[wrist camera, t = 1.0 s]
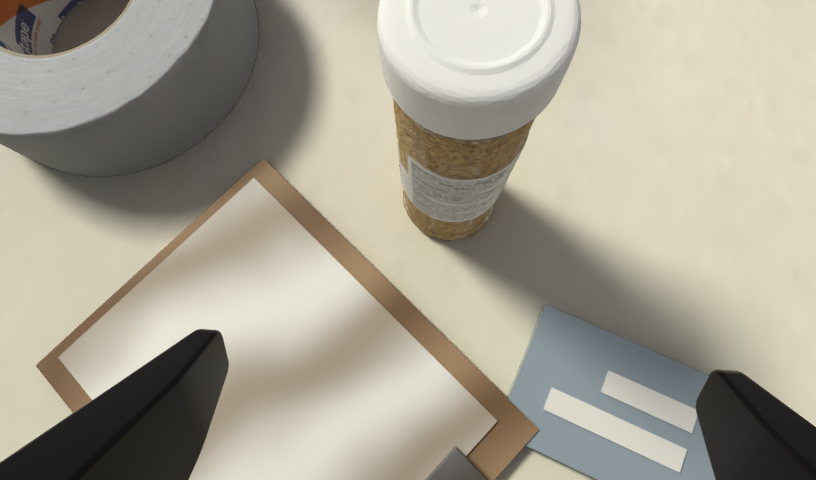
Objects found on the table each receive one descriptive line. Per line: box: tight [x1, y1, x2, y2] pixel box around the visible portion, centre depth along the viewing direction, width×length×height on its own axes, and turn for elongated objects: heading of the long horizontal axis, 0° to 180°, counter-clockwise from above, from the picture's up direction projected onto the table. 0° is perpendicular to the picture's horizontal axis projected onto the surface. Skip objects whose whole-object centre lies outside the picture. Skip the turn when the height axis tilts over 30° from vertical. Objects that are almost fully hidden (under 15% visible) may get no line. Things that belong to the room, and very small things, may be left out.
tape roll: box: [0, 0, 259, 176], centre depth 24 cm, size 15×15×5 cm
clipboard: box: [36, 158, 539, 480], centre depth 21 cm, size 18×14×1 cm
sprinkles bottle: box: [377, 0, 581, 240], centre depth 17 cm, size 5×5×14 cm
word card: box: [508, 304, 715, 480], centre depth 21 cm, size 9×6×1 cm, turn 66°
